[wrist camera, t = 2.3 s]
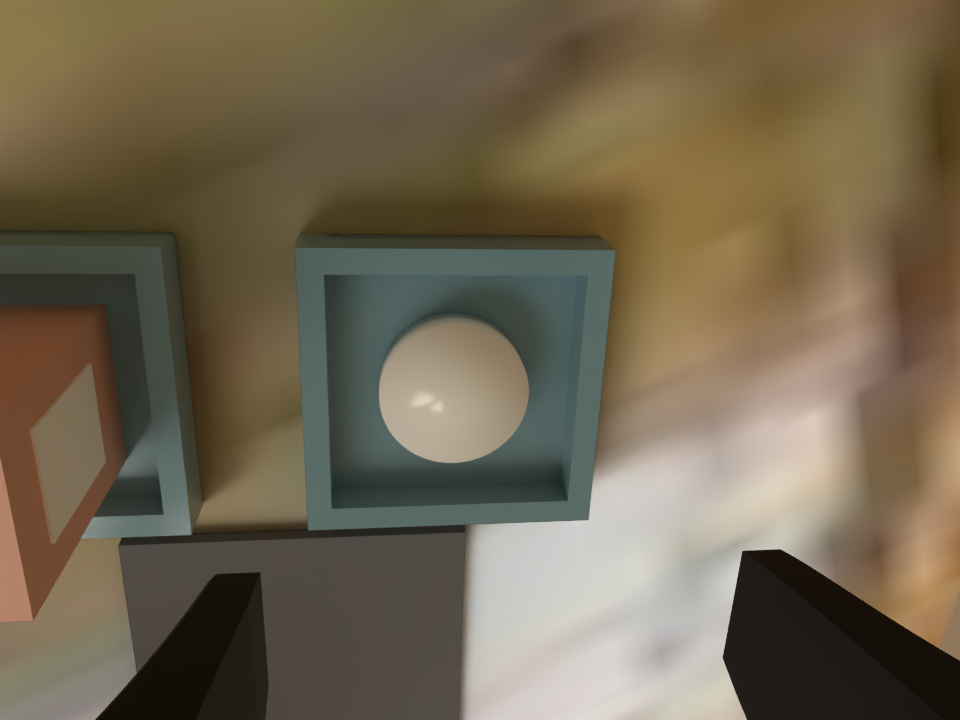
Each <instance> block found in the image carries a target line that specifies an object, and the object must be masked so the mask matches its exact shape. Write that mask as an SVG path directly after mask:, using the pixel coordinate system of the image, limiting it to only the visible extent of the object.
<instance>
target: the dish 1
mask: <svg viewBox="0 0 960 720" xmlns="http://www.w3.org/2000/svg"><path fill="white" fill-rule="evenodd" d="M0 305H106V312H107V319H108V327H109V334H110V341H111V348H112V356H113V363H114V370H115V378H116V385H117V392H118V399H119V407H120V414H121V421H122V429H123V436H124V443H125V450H126V458H127V460H126V461H125V463H124V465H123V467H122V468H121V470H120V472H119V474H118V475H117V477H116V479H115V480H114V482H113V484H112V486H111V487H110V489H109V491H108V493H107V494H106V496H105V498H104V499H103V501H102V503H101V505H100V506H99V508H98V510H97V511H96V513H95V515H94V517H93V518H92V520H91V522H90V524H89V525H88V527H87V529H86V530H85V532H84V534H83V536H82V537H81V539H95V538H122V537H148V536H175V535H192V533H193V530H194V527H195V524H196V521H197V519H198V516H199V513H200V510H201V508H202V505H203V504H202V494H201V484H200V474H199V464H198V454H197V444H196V434H195V424H194V414H193V405H192V395H191V385H190V375H189V365H188V355H187V345H186V335H185V325H184V315H183V305H182V296H181V286H180V276H179V266H178V256H177V246H176V236H175V232H75V231H0Z"/></svg>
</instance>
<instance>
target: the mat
mask: <svg viewBox="0 0 960 720" xmlns="http://www.w3.org/2000/svg"><path fill="white" fill-rule="evenodd" d="M118 548H119V555H120V561H121V568H122V575H123V582H124V588H125V595H126V602H127V609H128V615H129V622H130V629H131V636H132V642H133V649H134V656H135V663H136V669H137V673H138V672H139V670H140V669H141V668H142V667H143V666H144V664H145V663H146V662H147V661H148V659H149V658H150V657H151V656H152V655H153V653H154V652H155V651H156V650H157V649H158V647H159V646H160V645H161V644H162V643H163V641H164V640H165V639H166V638H167V636H168V635H169V634H170V632H171V631H172V630H173V629H174V627H175V626H176V625H177V623H178V622H179V621H180V619H181V618H182V617H183V616H184V614H185V613H186V612H187V610H188V609H189V608H190V606H191V605H192V603H193V602H194V601H195V599H196V598H197V597H198V595H199V594H200V592H201V591H202V590H203V588H204V587H205V585H206V584H207V583H208V581H209V580H210V579H211V578H213V577H214V576H215V575H216V574H228V573H251V572H260V573H261V587H262V601H263V614H264V628H265V641H266V655H267V669H268V682H269V688H268V698H267V708H266V718H265V720H459V694H460V667H461V640H462V613H463V586H464V558H465V527H464V525H442V526H415V527H389V528H362V529H335V530H296V531H269V532H242V533H215V534H192V535H175V536H148V537H122V539H121V541H120V543H119V545H118Z"/></svg>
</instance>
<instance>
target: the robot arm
mask: <svg viewBox="0 0 960 720" xmlns="http://www.w3.org/2000/svg"><path fill="white" fill-rule="evenodd" d="M723 660H724V662H725V665H726V668H727V670H728V673H729V676H730V678H731V681H732V684H733V686H734V689H735V692H736V694H737V696H738V699H739V701H740V704H741V706H742V709H743V711H744V713H745V716H746V718H747V720H960V661H959V660H958V659H956V658H954V657H952V656H951V655H949V654H947V653H945V652H944V651H942V650H940V649H939V648H937V647H935V646H934V645H932V644H930V643H929V642H927V641H926V640H924V639H922V638H921V637H919V636H917V635H916V634H914V633H912V632H911V631H909V630H908V629H906V628H904V627H903V626H901V625H900V624H898V623H896V622H895V621H893V620H892V619H890V618H889V617H887V616H886V615H884V614H882V613H881V612H879V611H878V610H876V609H875V608H873V607H872V606H870V605H868V604H867V603H865V602H864V601H862V600H861V599H859V598H858V597H856V596H855V595H853V594H851V593H850V592H848V591H847V590H845V589H844V588H842V587H841V586H839V585H838V584H836V583H835V582H833V581H832V580H830V579H828V578H827V577H825V576H824V575H822V574H821V573H819V572H817V571H816V570H814V569H813V568H811V567H810V566H808V565H806V564H805V563H803V562H802V561H800V560H798V559H796V558H795V557H793V556H791V555H790V554H788V553H786V552H784V551H782V550H780V549H778V550H755V551H743V552H742V557H741V563H740V568H739V573H738V579H737V584H736V589H735V595H734V600H733V606H732V611H731V616H730V622H729V627H728V633H727V638H726V643H725V649H724V654H723ZM268 688H269V682H268V669H267V655H266V641H265V628H264V614H263V601H262V587H261V573H260V572H251V573H228V574H216V575H215V576H214V577H213V578H211V579H210V580H209V581H208V583H207V584H206V585H205V587H204V588H203V590H202V591H201V592H200V594H199V595H198V597H197V598H196V599H195V601H194V602H193V603H192V605H191V606H190V608H189V609H188V610H187V612H186V613H185V614H184V616H183V617H182V618H181V619H180V621H179V622H178V623H177V625H176V626H175V627H174V629H173V630H172V631H171V632H170V634H169V635H168V636H167V638H166V639H165V640H164V641H163V643H162V644H161V645H160V646H159V647H158V649H157V650H156V651H155V652H154V653H153V655H152V656H151V657H150V658H149V659H148V661H147V662H146V663H145V664H144V666H143V667H142V668H141V669H140V670H139V672H138V673H137V674H136V675H135V676H134V678H133V679H132V680H131V681H130V682H129V683H128V685H127V686H126V687H125V688H124V689H123V690H122V691H121V692H120V693H119V694H118V696H117V697H116V698H115V699H114V700H113V701H112V702H111V703H110V704H109V705H108V706H107V708H106V709H105V710H104V711H103V712H102V713H101V714H100V715H99V716H98V717H97V718H96V720H265V718H266V708H267V698H268Z"/></svg>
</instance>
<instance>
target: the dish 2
mask: <svg viewBox="0 0 960 720" xmlns="http://www.w3.org/2000/svg"><path fill="white" fill-rule="evenodd" d="M615 253H616V250H615V249H614V248H613V247H611V246H610V245H609V244H608V243H607V242H606V241H604V240H603V239H602V238H601V237H597V236H492V235H388V234H300V235H299V238H298V240H297V243H296V246H295V263H296V285H297V306H298V328H299V349H300V371H301V392H302V414H303V435H304V457H305V478H306V500H307V521H308V530H335V529H362V528H389V527H415V526H442V525H469V524H495V523H522V522H549V521H575V520H589V510H590V500H591V490H592V480H593V470H594V460H595V451H596V441H597V431H598V421H599V411H600V401H601V391H602V382H603V372H604V362H605V352H606V342H607V332H608V322H609V313H610V303H611V293H612V283H613V273H614V263H615ZM445 312H462V313H468V314H473V315H476V316H479V317H482V318H484V319H486V320H488V321H490V322H491V323H493V324H495V325H496V326H497V327H498V328H500V329H501V330H502V331H503V332H504V333H505V334H506V335H507V336H508V337H509V339H510V340H511V342H512V343H513V345H514V346H515V348H516V351H517V353H518V355H519V357H520V359H521V361H522V363H523V365H524V368H525V371H526V374H527V378H528V384H529V398H528V405H527V408H526V412H525V415H524V417H523V419H522V421H521V423H520V425H519V427H518V428H517V430H516V431H515V432H514V434H513V435H512V436H511V437H510V438H509V439H508V440H507V441H506V442H505V443H504V444H503V445H501V446H500V447H499V448H497V449H496V450H494V451H493V452H491V453H489V454H487V455H485V456H483V457H480V458H477V459H474V460H471V461H466V462H459V463H443V462H436V461H432V460H428V459H425V458H422V457H420V456H418V455H416V454H414V453H412V452H410V451H409V450H407V449H406V448H405V447H403V446H402V445H401V444H400V443H399V442H398V441H397V440H396V439H395V438H394V437H393V435H392V434H391V433H390V431H389V429H388V428H387V426H386V424H385V422H384V419H383V417H382V413H381V409H380V402H379V373H380V368H381V364H382V361H383V358H384V355H385V353H386V351H387V349H388V348H389V346H390V345H391V343H392V342H393V340H394V339H395V338H396V337H397V336H398V335H399V334H400V333H401V332H402V331H403V330H404V329H406V328H407V327H408V326H410V325H411V324H413V323H414V322H416V321H418V320H420V319H422V318H425V317H428V316H431V315H434V314H439V313H445Z"/></svg>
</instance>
